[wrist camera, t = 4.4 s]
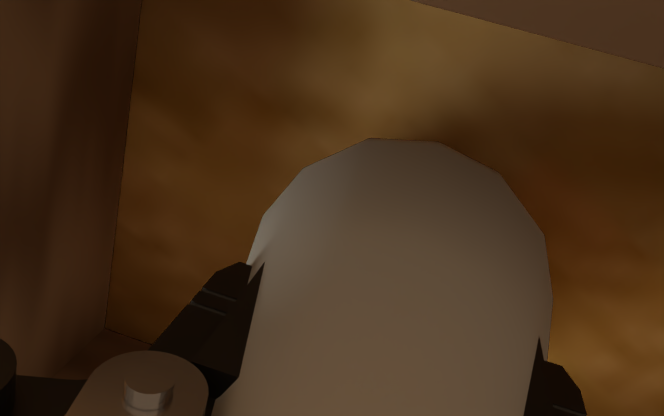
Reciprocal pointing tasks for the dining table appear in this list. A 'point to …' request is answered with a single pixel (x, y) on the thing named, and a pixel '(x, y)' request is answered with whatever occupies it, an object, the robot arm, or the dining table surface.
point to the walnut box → (109, 145)
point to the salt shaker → (394, 290)
